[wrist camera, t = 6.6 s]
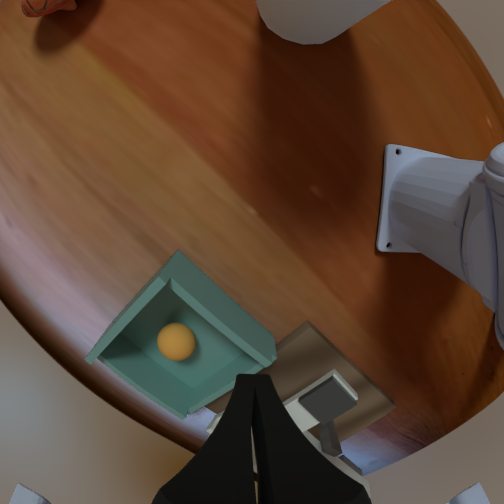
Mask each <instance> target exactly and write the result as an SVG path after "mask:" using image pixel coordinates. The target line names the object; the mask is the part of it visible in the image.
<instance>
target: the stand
mask: <svg viewBox="0 0 504 504" xmlns="http://www.w3.org/2000/svg"><path fill="white" fill-rule="evenodd" d="M275 348H276V355H277V359H276V360H275V361H273V362H272V364H271V365H269V366H268V367H264V368H263V369H262V370H260V371H259V372H257V373H256V374H269V375H270V376H271V379H272V382H273V384H274V387H275V389H276V391H277V393H278V395H279V397H280V399H281V401H282V402H284V401H286V400H287V399H289V398H291V397H292V396H294V395H295V394H297V393H299V392H300V391H302V390H303V389H305V388H306V387H308V386H309V385H311V384H312V383H314V382H315V381H317V380H318V379H320V378H321V377H323V376H324V375H326V374H327V373H329V372H330V371H331V370H333V369H335V370H336V371H337V372H338V373H339V374H340V375H341V376H342V377H343V378H344V380H345V381H346V382H347V383H348V384H349V385H350V386H351V387H352V388H353V389H354V391H355V392H356V393H357V395H358V399H357V400H356V403H357V405H356V406H354V407H353V408H351V409H350V410H348V411H346V412H345V413H343V414H342V415H340V416H338V417H337V418H335V419H333V420H332V421H330V422H328V423H327V424H325V425H322V424H321V423H319V424H317V425H315V426H313V427H311V428H310V429H308V430H307V431H308V432H309V433H311V434H312V435H313V436H314V437H315V438H316V439H317V440H318V441H320V442H321V443H322V446H323V451H324V453H326V454H328V455H331V456H333V457H336V456H338V455H339V454H341V453H342V450H341V446H340V442H341V441H343V440H345V439H347V438H349V437H350V436H352V435H354V434H356V433H357V432H359V431H361V430H362V429H364V428H366V427H367V426H369V425H370V424H372V423H374V422H375V421H377V420H378V419H380V418H381V417H383V416H384V415H386V414H387V413H389V412H390V411H392V410H393V409H395V408H396V405H395V403H394V401H393V400H392V399H390V398H389V397H388V396H387V395H386V394H385V393H384V392H383V391H382V390H381V389H380V388H379V387H378V386H377V385H376V384H374V383H373V382H372V381H371V380H370V379H369V378H368V377H367V376H366V375H365V374H364V373H363V372H362V371H361V370H360V369H359V368H357V367H356V366H355V365H354V364H353V363H352V362H351V361H350V360H349V359H348V358H347V357H346V356H345V355H344V354H343V353H342V352H341V351H339V350H338V349H337V348H336V347H335V346H334V345H333V344H332V343H331V342H330V341H329V340H328V339H327V338H326V337H325V336H324V335H323V334H322V333H321V332H320V331H318V330H317V329H316V328H315V327H314V326H313V325H312V324H311V323H310V322H309V321H306V322H305V323H304V324H303V325H301V326H300V327H299V328H297V329H296V330H295V331H294V332H292V333H291V334H290V335H288V336H287V337H286V338H284V339H283V340H282V341H280V342H279V343H278V344H276V345H275ZM233 389H234V388H233ZM233 389H231V390H230V391H228V392H226V393H225V394H223V395H222V396H220V397H218V398H217V399H215V400H213V401H212V402H210V403H208V404H207V405H205V407H206V408H208V409H210V410H211V411H213V412H215V413H216V414H219V413H221V412H222V411H224V410H225V409H226V406H227V404H228V402H229V399H230V397H231V394H232V392H233Z"/></svg>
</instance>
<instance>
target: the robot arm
mask: <svg viewBox="0 0 504 504" xmlns="http://www.w3.org/2000/svg"><path fill="white" fill-rule="evenodd" d="M396 149H398V150H399V154H398V155H397V154H396ZM389 242H390V246H389V247H386V245H387V243H389ZM376 247H377V249H378V250H379V251H381V252H414V253H422V254H423V255H425V256H427V257H428V258H430V259H431V260H433V261H434V262H436V263H437V264H439V265H440V266H442V267H443V268H445V269H446V270H448V271H449V272H451V273H452V274H454V275H455V276H456V277H458V278H459V279H461V280H462V281H464V282H465V283H466V284H468V285H469V286H471V287H472V288H474V289H475V290H476V291H478V292H479V293H480V294H481V296H482V299H483V304H484V305H486V306H487V307H488V308H489V309H491V310H492V311H493V312H494V313H495V333H496V336H497V340H498V342H499V344H500V346H501V347H502V348H503V350H504V142H503V143H501V144H499V145H498V146H496V147H495V148H494V149H493V150H492V151H491V153H490V155H489V157H488V158H487V159H486V160H485V162H482V161H473V160H464V159H456V158H452V157H448V156H444V155H440V154H436V153H432V152H428V151H424V150H419V149H415V148H410V147H405V146H400V145H395V144H388V145H387V146H386V147H385V156H384V174H383V188H382V199H381V209H380V218H379V227H378V234H377V242H376ZM251 426H252V435H253V442H254V450H255V457H256V465H257V483H258V504H372V503H371V500H370V497H369V495H368V493H367V491H366V489H365V487H364V486H363V485H362V484H360V483H359V482H357V481H356V480H354V479H352V478H351V477H350V476H348V475H347V474H345V473H344V472H343V471H341V470H340V469H339V468H337V467H336V466H335V465H334V464H332V463H331V462H330V461H329V460H328V459H327V458H326V457H325V456H324V455H322V454H321V453H320V452H319V451H318V450H317V449H316V448H315V447H314V446H313V445H312V443H311V442H310V441H309V440H308V439H307V438H306V437H305V435H304V434H303V433H302V432H301V430H300V429H299V428H298V426H297V425H296V423H295V422H294V421H293V419H292V418H291V416H290V415H289V413H288V411H287V410H286V408H285V406H284V404H283V403H282V401H281V399H280V397H279V395H278V393H277V391H276V389H275V387H274V384H273V382H272V379H271V376H270V375H269V374H238V375H236V381H235V385H234V389H233V392H232V394H231V397H230V399H229V402H228V404H227V406H226V409H225V411H224V413H223V414H222V416H221V418H220V420H219V422H218V424H217V425H216V427H215V429H214V430H213V432H212V433H211V435H210V436H209V438H208V439H207V441H206V442H205V443H204V445H203V446H202V447H201V449H200V450H199V451H198V452H197V454H196V455H195V456H194V457H193V458H192V459H191V460H190V461H189V462H188V463H187V465H186V466H185V467H184V468H183V469H182V470H181V471H180V472H179V473H178V474H176V475H175V476H174V477H173V478H172V479H171V480H170V481H168V482H167V483H166V484H165V485H163V486H162V487H161V488H160V489H159V491H158V492H157V494H156V496H155V498H154V499H153V501H152V504H257V503H256V493H255V483H254V469H253V454H252V435H251ZM9 504H51V503H50V502H49V501H48V500H47V499H45V498H44V497H43V496H41V495H39V494H38V493H36V492H34V491H32V490H30V489H29V488H27V487H25V486H24V485H22V484H21V483H18V485H17V487H16V489H15V491H14V493H13V496H12V498H11V500H10V503H9ZM445 504H490V502H489V500H488V498H487V496H486V494H485V492H484V490H483V488H482V486H481V484H480V483H479V482H477V483H476V484H474V485H472V486H471V487H469V488H467V489H465V490H464V491H462V492H460V493H459V494H457V495H456V496H455V497H453V498H452V499H451V500H450V501H449V502H447V503H445Z"/></svg>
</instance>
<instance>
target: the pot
mask: <svg viewBox="0 0 504 504" xmlns="http://www.w3.org/2000/svg"><path fill="white" fill-rule="evenodd" d="M76 7H77V4H76V3H75V0H21V8H22V11H23V13H24V14H25V15H26V16H27V17H39V16H43V15H47V14H50V13H52V12H54V11H56V10H68V11H72V10H75V9H76Z"/></svg>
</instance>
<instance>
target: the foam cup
mask: <svg viewBox="0 0 504 504" xmlns="http://www.w3.org/2000/svg"><path fill="white" fill-rule="evenodd" d="M389 1H391V0H256V2H257V6H258V11H259V12H260V16H261V18H262V19H263V21H264V23H265V24H266V26H267V28H268V29H270V30H271V31H273V32H274V33H276V34H277V35H279V36H280V37H281V38H283V39H285V40H289V41H293V42H296V43H299V44H303V45H305V44H323V43H325V42H327V41H329V40H331V39H333V38H335V37H337V36H338V35H340V34H341V33H343V32H344V31H346V30H347V29H348V28H350V27H351V26H353V25H354V24H355V23H357V22H358V21H360V20H361V19H363V18H364V17H366V16H367V15H369V14H370V13H372V12H373V11H375V10H377V9H378V8H380V7H381V6H383V5H384V4H386V3H388V2H389Z"/></svg>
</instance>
